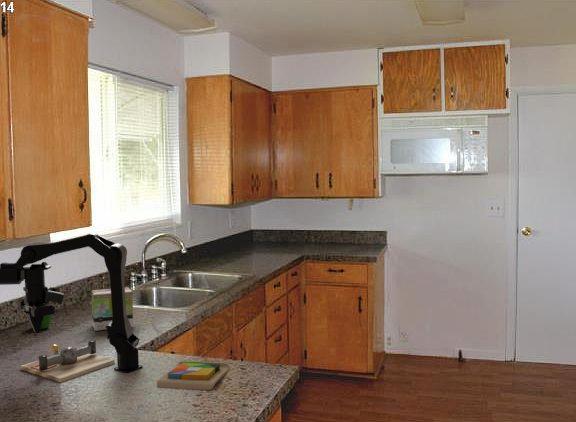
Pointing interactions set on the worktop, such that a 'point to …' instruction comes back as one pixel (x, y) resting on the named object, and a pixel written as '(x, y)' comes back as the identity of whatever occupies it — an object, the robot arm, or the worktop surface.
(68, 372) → the board
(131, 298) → the tea box
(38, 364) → the level window
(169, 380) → the wooden puzzle
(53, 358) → the bell crank
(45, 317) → the bell pepper
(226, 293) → the worktop surface
